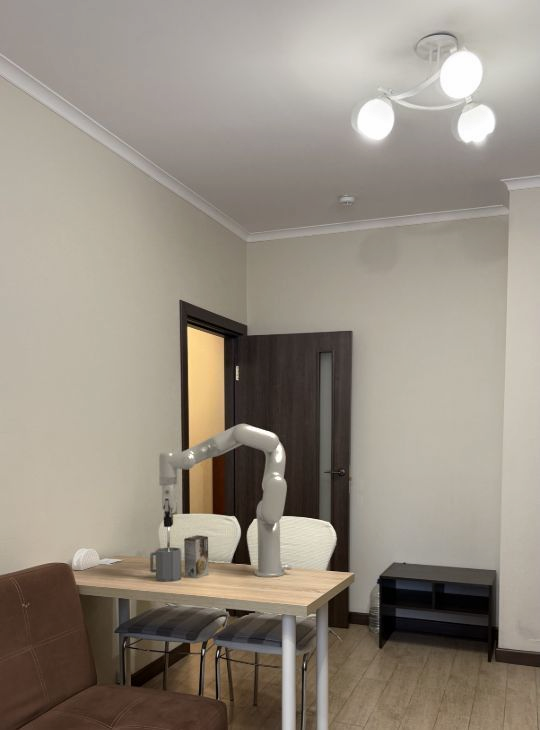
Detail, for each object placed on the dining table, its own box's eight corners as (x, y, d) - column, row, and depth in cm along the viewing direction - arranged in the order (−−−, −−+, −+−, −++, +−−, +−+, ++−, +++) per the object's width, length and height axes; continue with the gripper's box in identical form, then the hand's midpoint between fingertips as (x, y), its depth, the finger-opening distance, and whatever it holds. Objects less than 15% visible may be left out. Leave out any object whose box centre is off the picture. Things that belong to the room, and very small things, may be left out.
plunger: (179, 553, 293) (179, 513, 295) (177, 557, 285) (177, 516, 287) (160, 554, 293) (160, 514, 294) (157, 557, 285) (157, 516, 286)
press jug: (182, 576, 293) (182, 547, 294) (179, 581, 283) (179, 551, 284) (152, 576, 293) (152, 547, 294) (148, 582, 283) (148, 552, 284)
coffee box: (196, 573, 299) (196, 535, 300) (209, 574, 296) (208, 536, 297) (183, 577, 291) (183, 538, 293) (196, 578, 288) (195, 539, 289)
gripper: (175, 483, 283) (175, 528, 282) (179, 480, 300) (179, 523, 298) (156, 483, 283) (156, 529, 282) (161, 480, 300) (161, 523, 298)
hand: (168, 525), depth 290 cm, fingers closed on plunger, 4 cm apart
